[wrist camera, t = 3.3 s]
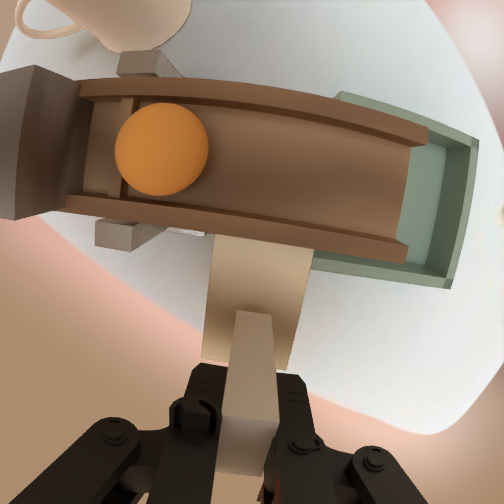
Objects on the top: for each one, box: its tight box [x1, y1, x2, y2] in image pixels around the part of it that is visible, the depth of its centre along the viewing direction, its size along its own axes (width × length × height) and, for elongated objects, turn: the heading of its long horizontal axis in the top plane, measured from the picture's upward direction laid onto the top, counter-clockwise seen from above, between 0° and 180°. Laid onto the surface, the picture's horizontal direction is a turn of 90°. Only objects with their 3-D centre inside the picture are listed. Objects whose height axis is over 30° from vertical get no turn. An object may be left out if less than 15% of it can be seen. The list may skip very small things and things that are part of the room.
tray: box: [310, 91, 479, 289], centre depth 20 cm, size 12×11×4 cm
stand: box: [95, 50, 205, 252], centre depth 17 cm, size 11×6×10 cm, turn 171°
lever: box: [0, 65, 429, 370], centre depth 12 cm, size 13×22×6 cm, turn 81°
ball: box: [115, 103, 209, 196], centre depth 11 cm, size 4×4×4 cm
